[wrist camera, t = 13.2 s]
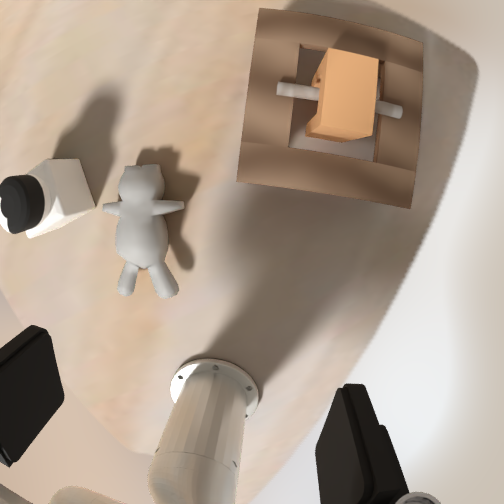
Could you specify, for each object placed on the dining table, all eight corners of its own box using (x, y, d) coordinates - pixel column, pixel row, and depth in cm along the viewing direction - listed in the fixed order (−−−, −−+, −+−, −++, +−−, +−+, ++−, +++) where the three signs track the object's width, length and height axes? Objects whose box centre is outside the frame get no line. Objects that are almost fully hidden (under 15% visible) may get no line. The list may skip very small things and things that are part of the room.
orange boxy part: (341, 142, 32) (372, 135, 21) (305, 136, 32) (320, 125, 21) (347, 87, 30) (378, 59, 19) (311, 80, 30) (328, 47, 20)
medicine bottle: (79, 157, 35) (17, 158, 23) (97, 207, 36) (37, 225, 25) (43, 181, 36) (-18, 190, 24) (60, 228, 37) (1, 250, 26)
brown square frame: (382, 200, 34) (415, 210, 25) (244, 179, 35) (234, 182, 26) (395, 64, 30) (427, 38, 21) (261, 39, 30) (258, 2, 21)
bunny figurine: (176, 160, 31) (178, 305, 33) (188, 166, 36) (190, 292, 38) (97, 166, 31) (101, 299, 33) (117, 171, 36) (120, 288, 38)
